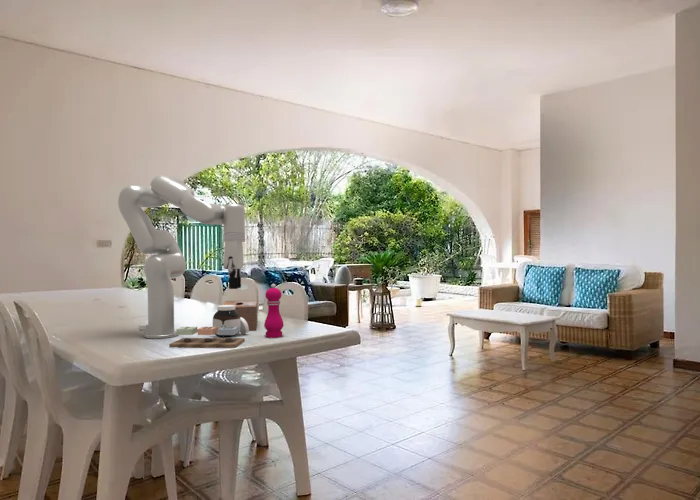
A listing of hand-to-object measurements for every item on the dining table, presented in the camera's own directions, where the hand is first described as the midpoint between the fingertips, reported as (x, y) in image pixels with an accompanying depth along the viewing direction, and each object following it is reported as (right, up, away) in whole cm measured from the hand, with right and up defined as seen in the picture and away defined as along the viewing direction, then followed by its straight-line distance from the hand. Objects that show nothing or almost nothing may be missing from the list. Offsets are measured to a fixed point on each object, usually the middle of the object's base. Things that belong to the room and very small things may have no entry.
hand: (235, 287), depth 201 cm
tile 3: (0, -16, -8) cm, 18 cm away
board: (-8, -19, -8) cm, 22 cm away
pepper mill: (+13, -19, +7) cm, 24 cm away
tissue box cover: (-5, -19, +33) cm, 38 cm away
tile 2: (-8, -16, -8) cm, 19 cm away
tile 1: (-15, -16, -7) cm, 23 cm away
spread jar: (-4, -19, +11) cm, 22 cm away
